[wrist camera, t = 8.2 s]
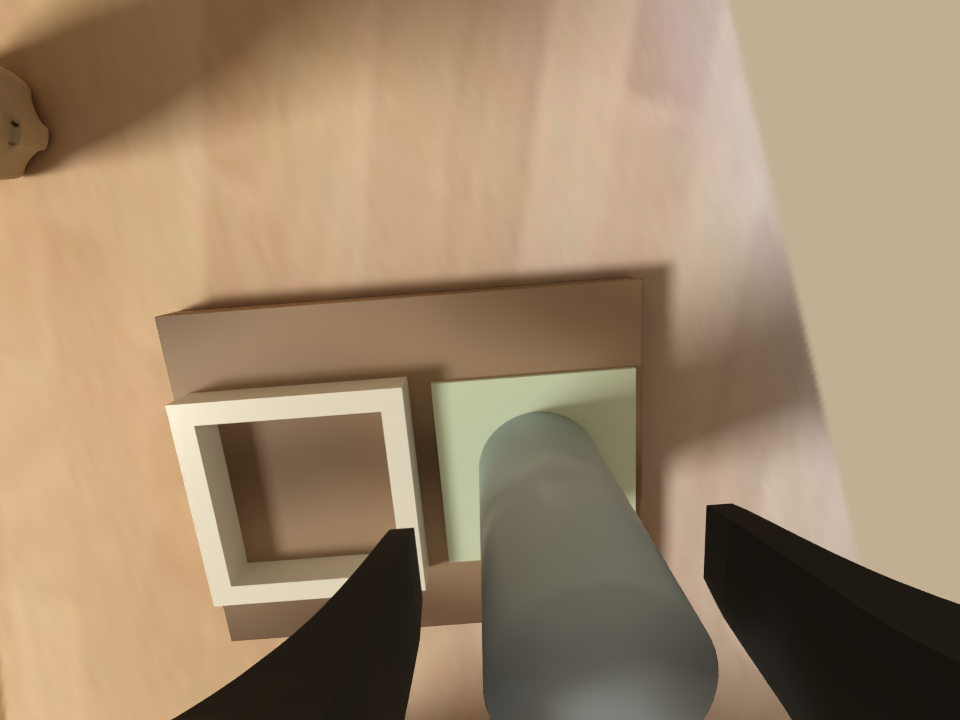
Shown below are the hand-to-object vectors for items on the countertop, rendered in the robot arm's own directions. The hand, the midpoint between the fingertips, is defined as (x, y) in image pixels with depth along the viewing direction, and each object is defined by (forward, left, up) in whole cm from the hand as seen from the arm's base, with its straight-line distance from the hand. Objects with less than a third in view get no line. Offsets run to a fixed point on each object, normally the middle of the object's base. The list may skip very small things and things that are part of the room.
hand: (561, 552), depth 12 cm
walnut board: (0, +4, -6) cm, 7 cm away
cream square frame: (0, +7, -5) cm, 9 cm away
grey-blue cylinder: (0, 0, -4) cm, 4 cm away
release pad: (0, 0, -5) cm, 5 cm away
